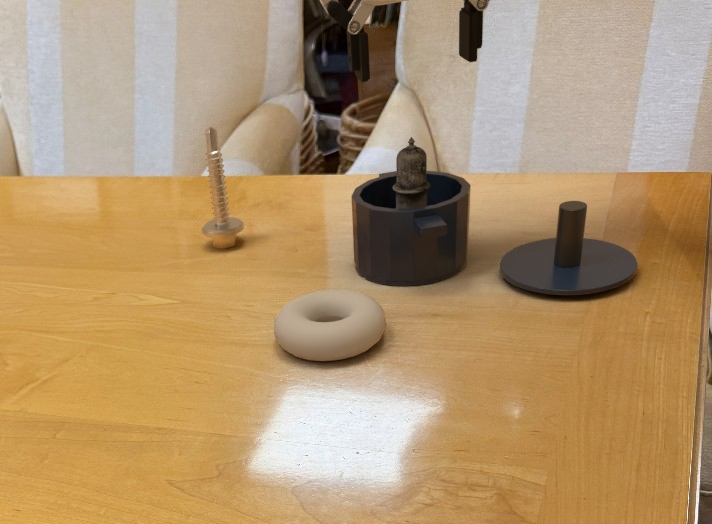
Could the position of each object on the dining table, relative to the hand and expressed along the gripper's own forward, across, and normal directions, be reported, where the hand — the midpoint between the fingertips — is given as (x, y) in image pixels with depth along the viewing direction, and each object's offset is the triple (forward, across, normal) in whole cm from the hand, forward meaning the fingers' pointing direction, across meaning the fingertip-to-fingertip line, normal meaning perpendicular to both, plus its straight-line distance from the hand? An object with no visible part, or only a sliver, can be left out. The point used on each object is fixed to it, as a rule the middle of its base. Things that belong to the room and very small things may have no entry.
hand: (415, 68), depth 82 cm
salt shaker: (+18, +1, 0) cm, 18 cm away
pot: (+18, +1, 0) cm, 19 cm away
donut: (+18, +12, +14) cm, 26 cm away
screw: (+18, +19, -13) cm, 29 cm away
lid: (+18, -12, +8) cm, 23 cm away
